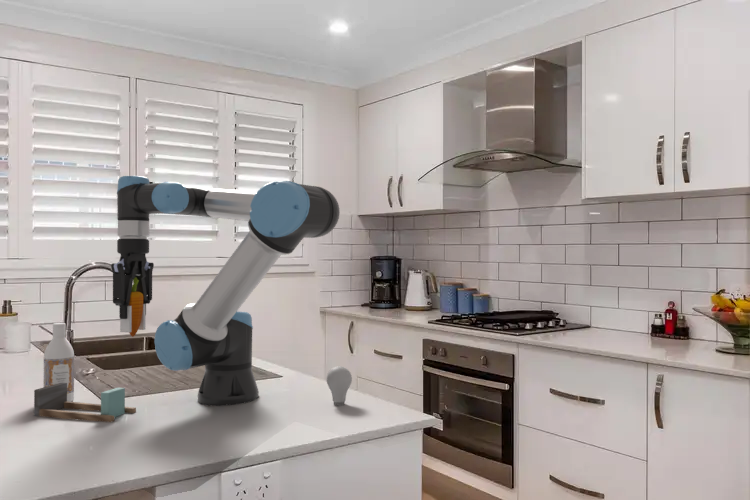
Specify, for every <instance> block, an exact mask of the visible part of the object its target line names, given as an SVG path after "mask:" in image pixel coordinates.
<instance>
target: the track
mask: <svg viewBox="0 0 750 500" xmlns="http://www.w3.org/2000/svg"><path fill="white" fill-rule="evenodd" d="M33 393H34V397H33V398H34V399H33V400H34V402H33V403H34V404H33V407H34V408H33V409H34V410H33V412H34V413H33V415H34V417H44V418H45V417H46V418H47V417H48V418H52V419H53V418H55V419H56V418H57V419H65V420H75V419H78V420H79V421H87V422H88V421H89V422H91V421H92V422H103V423H104V422H105V423H113V422H115V417H114V416H113V415H103V414H101V413H90V412H81V411H71V410H79V409H82V411H94V410H99V411H98V412H101V403H100V404H99V403H89V402H80V401H72V402H69V401H67V383H59V384H55V385H51V386H47V387H44V386H43V387H40V388H37V389H34V390H33ZM63 409H67V410H63ZM125 413H126V414H134V413H137V407H133V406H125ZM125 413H124V414H125Z"/></svg>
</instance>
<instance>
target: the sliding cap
mask: <svg viewBox="0 0 750 500" xmlns="http://www.w3.org/2000/svg"><path fill="white" fill-rule="evenodd" d="M125 394H126V388H125V387H115V388H112V389H108V390H104V391H102V392H100V404H101V411H100V414H103V415H113V416H114V418H116V417H119V416H121V415H124V414H125V407H126V406H125V404H126V402H125V401H126V395H125Z"/></svg>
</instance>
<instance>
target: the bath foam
mask: <svg viewBox="0 0 750 500" xmlns="http://www.w3.org/2000/svg"><path fill="white" fill-rule="evenodd" d="M66 327H67V325H66V323H65V322H54V323H52V338H51V339H50V341H49V343H48V344H47V345H46V348H45V349H44V353H43V387H47V386H51V385H55V384H59V383H67V401H69V402H74V400H75V353H74V352H75V351H74V349H73V346H72V344H71V343H70V341H69V340H68V339H67V337H66V334H67V333H66V330H67V328H66Z"/></svg>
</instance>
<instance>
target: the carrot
mask: <svg viewBox="0 0 750 500" xmlns="http://www.w3.org/2000/svg"><path fill="white" fill-rule="evenodd" d="M138 282H139V280H138V279H137V277H135V278H134V279H133V283H132V290H131V296H130V302H129V305H128V306H132V332H128V334H129V335H130V337H132V338H134V337H135V336H136V335H137V333H138V331H139V330H138V329H139V326H140V323H141V319H142V313H143V294H142V293H141V292H138V291H136V288H137V284H138ZM124 300H125V299H124Z"/></svg>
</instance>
